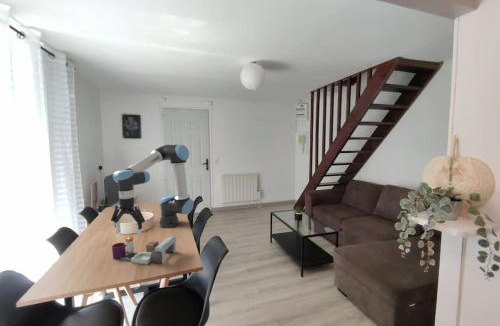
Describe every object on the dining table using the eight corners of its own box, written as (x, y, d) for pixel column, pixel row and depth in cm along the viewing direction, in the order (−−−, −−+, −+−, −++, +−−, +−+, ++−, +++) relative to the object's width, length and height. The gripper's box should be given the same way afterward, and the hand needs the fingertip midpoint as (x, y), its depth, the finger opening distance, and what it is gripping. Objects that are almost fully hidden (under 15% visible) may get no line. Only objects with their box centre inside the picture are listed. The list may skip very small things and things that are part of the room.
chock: (152, 248, 145) (152, 240, 145) (158, 248, 144) (158, 241, 144) (146, 252, 139) (146, 244, 139) (153, 253, 138) (152, 245, 138)
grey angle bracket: (164, 250, 141) (163, 234, 140) (176, 251, 140) (175, 235, 139) (150, 262, 127) (149, 245, 126) (163, 264, 126) (162, 246, 125)
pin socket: (129, 254, 137) (129, 251, 137) (140, 255, 136) (139, 252, 136) (121, 260, 131) (120, 257, 130) (132, 261, 129) (131, 258, 129)
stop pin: (130, 255, 136) (128, 236, 135) (136, 256, 135) (135, 236, 134) (125, 259, 132) (123, 239, 130) (131, 259, 131) (130, 239, 130)
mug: (114, 254, 138) (113, 243, 137) (133, 251, 140) (132, 241, 140) (111, 259, 131) (110, 248, 131) (130, 256, 134) (129, 245, 133)
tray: (140, 255, 135) (140, 251, 135) (156, 257, 134) (155, 253, 133) (131, 262, 128) (131, 258, 127) (147, 264, 126) (147, 260, 126)
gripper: (102, 198, 128) (104, 234, 130) (141, 200, 124) (143, 237, 125) (112, 195, 136) (114, 229, 137) (150, 196, 131) (152, 232, 133)
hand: (128, 233), depth 132 cm, fingers open, 13 cm apart
